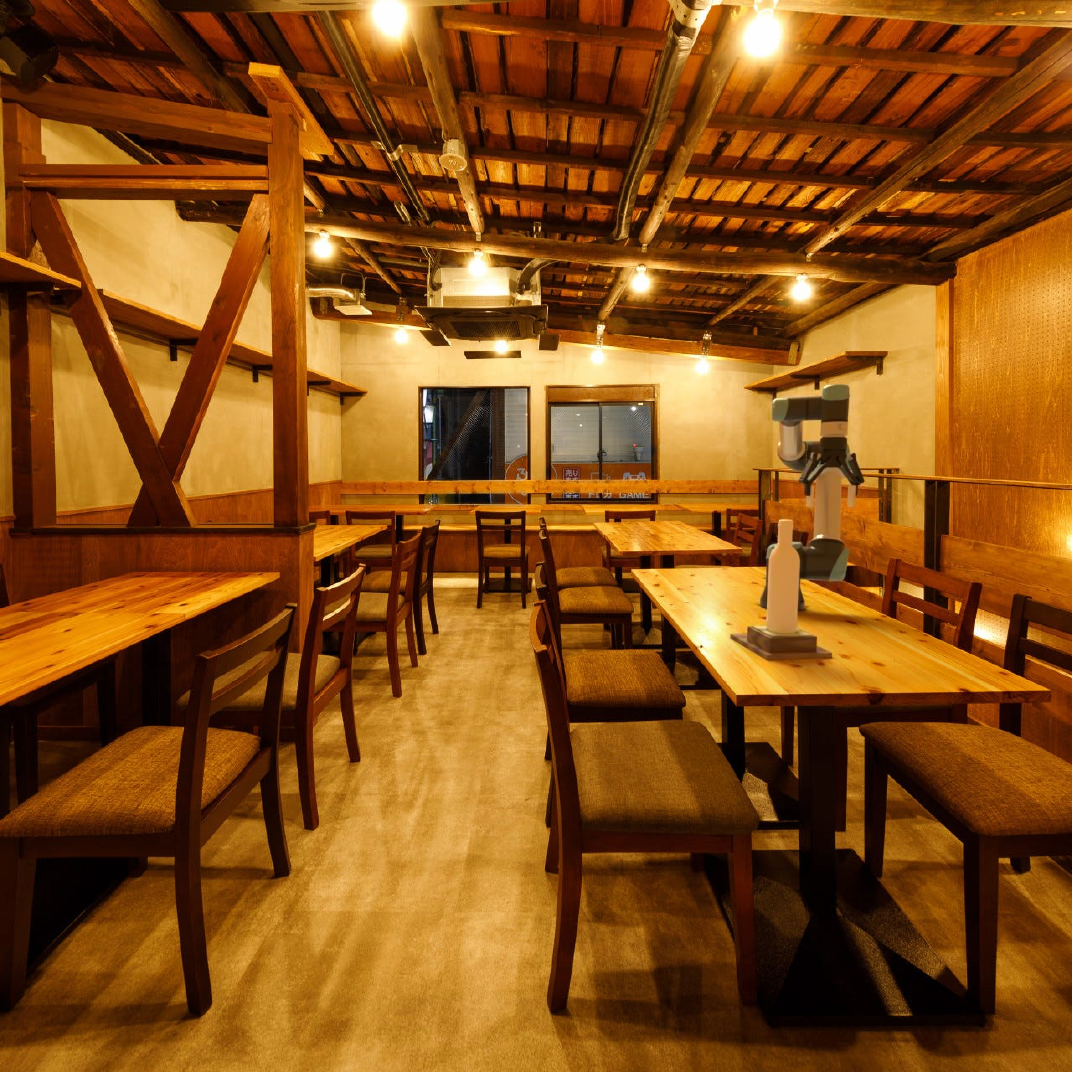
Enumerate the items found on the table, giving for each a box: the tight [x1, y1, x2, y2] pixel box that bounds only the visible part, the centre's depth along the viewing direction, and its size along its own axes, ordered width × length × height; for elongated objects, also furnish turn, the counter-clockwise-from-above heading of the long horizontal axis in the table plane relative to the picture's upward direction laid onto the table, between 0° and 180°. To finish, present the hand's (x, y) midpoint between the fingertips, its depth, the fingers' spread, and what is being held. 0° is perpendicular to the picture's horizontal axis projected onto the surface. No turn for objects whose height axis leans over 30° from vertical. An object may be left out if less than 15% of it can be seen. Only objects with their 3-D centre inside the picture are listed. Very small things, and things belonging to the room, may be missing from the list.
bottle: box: [765, 519, 800, 634], centre depth 169 cm, size 8×8×30 cm
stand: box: [729, 625, 833, 661], centre depth 174 cm, size 22×18×6 cm
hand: (830, 506), depth 194 cm, fingers open, 13 cm apart
